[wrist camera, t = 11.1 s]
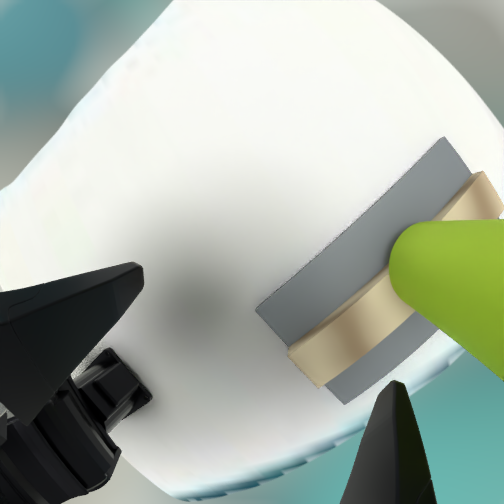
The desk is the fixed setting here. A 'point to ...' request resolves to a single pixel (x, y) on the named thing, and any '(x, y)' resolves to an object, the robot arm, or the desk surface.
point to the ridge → (379, 299)
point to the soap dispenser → (456, 282)
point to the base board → (368, 269)
